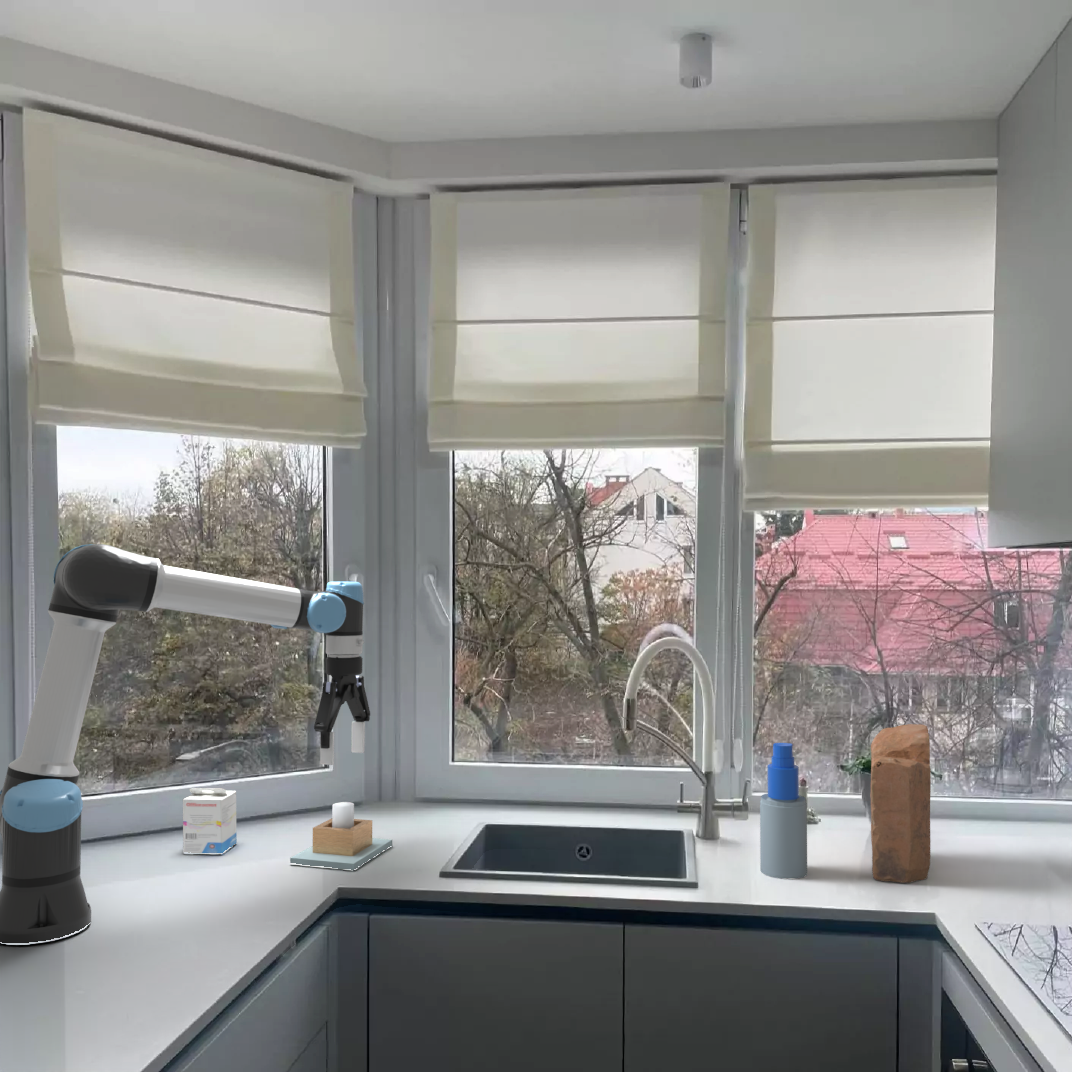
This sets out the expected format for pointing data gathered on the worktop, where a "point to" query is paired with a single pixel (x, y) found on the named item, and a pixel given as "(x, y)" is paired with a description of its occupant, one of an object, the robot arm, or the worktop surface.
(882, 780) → the stone
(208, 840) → the ink box
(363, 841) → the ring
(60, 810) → the robot arm
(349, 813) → the post stand
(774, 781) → the spray bottle
